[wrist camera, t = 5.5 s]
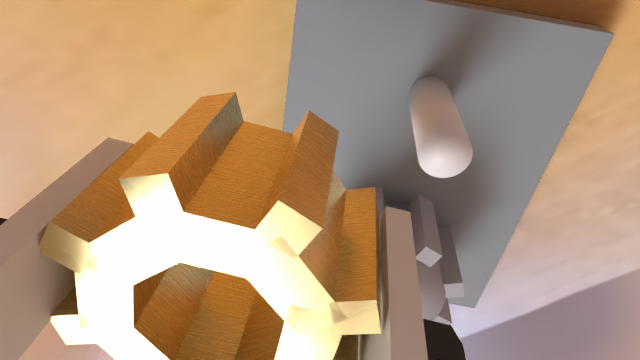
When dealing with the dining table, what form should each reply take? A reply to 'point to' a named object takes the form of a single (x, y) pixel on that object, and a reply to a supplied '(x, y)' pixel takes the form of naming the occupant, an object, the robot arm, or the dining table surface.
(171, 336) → the brass gear
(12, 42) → the dining table surface
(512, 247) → the dining table surface
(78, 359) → the beige cup
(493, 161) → the gear board
